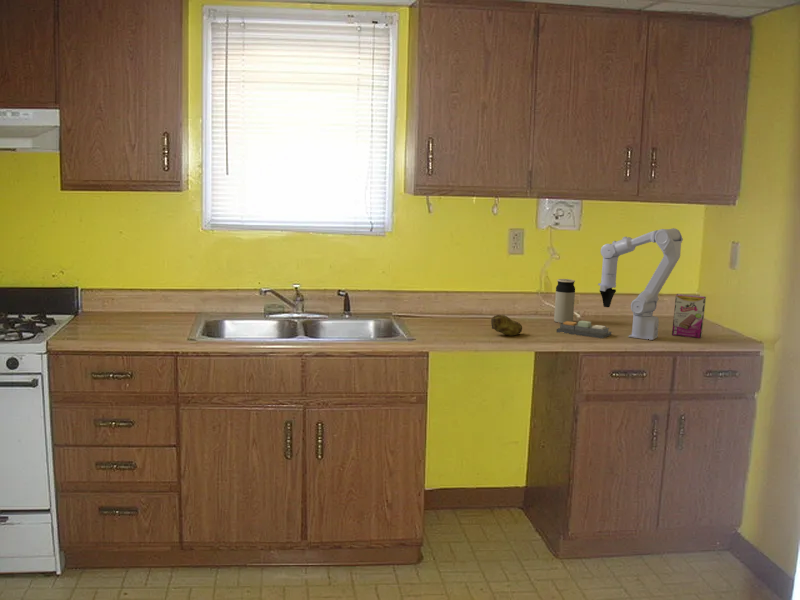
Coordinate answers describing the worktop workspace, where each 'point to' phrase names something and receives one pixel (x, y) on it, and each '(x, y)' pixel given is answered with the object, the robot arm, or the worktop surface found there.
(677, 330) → the candy bar box
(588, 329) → the panel
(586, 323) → the button sage
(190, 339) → the worktop surface
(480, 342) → the worktop surface
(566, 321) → the button orange
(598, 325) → the button cream
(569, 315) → the travel mug
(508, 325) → the potato
